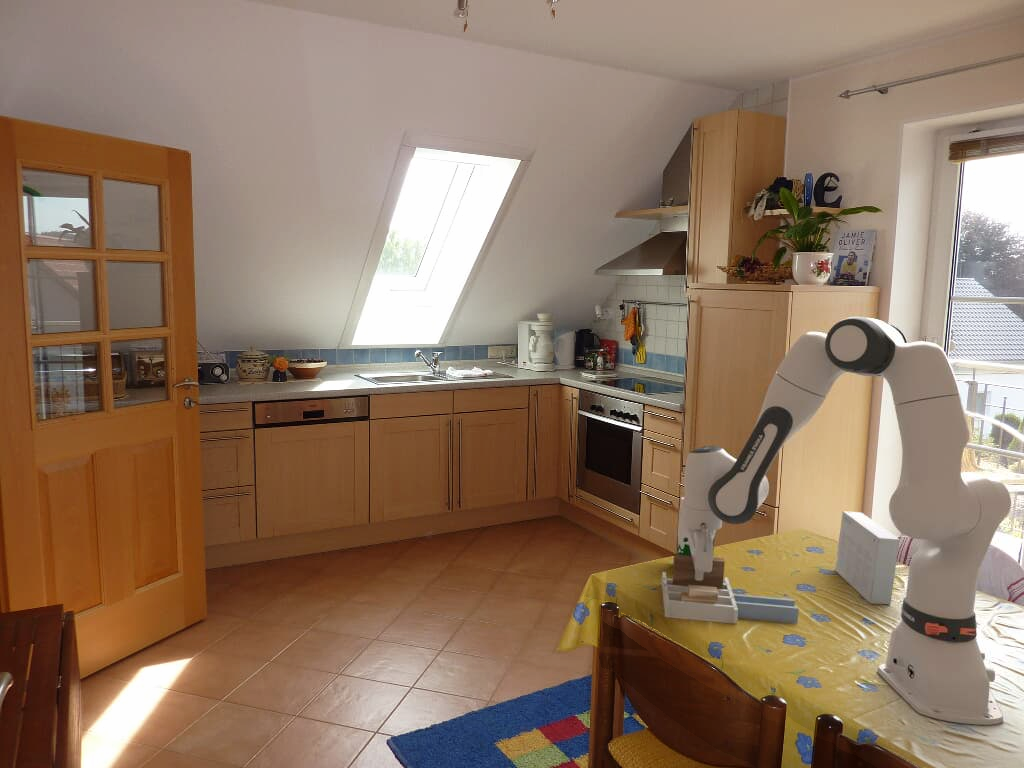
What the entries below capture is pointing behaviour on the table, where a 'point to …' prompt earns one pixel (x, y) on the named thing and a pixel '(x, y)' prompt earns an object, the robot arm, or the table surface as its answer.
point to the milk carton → (684, 536)
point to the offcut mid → (686, 598)
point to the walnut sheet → (686, 572)
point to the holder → (766, 608)
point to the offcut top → (703, 592)
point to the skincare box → (867, 557)
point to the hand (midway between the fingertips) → (697, 576)
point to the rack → (699, 604)
